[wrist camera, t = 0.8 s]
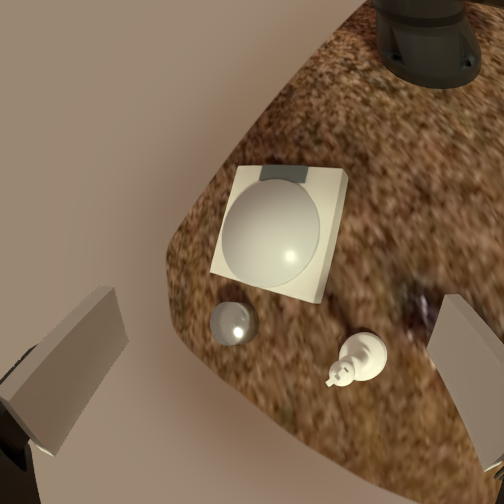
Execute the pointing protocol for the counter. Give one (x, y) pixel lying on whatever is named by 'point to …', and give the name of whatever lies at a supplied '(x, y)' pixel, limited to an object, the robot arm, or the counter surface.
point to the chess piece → (358, 359)
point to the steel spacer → (234, 323)
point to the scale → (282, 228)
